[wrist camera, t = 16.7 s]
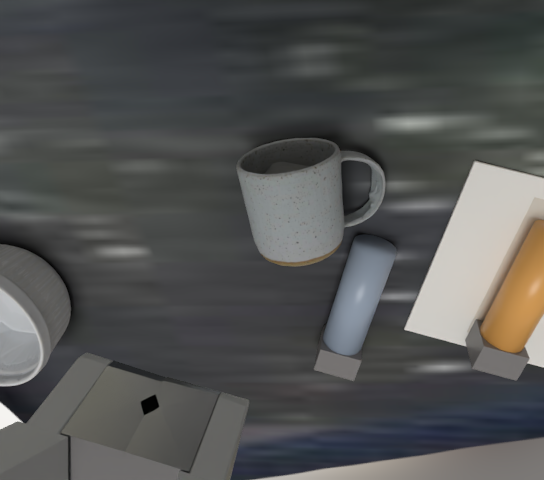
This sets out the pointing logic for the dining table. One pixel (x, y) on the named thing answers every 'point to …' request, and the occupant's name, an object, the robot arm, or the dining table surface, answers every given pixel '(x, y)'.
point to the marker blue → (354, 306)
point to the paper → (479, 255)
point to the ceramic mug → (301, 198)
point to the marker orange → (512, 313)
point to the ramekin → (29, 314)
